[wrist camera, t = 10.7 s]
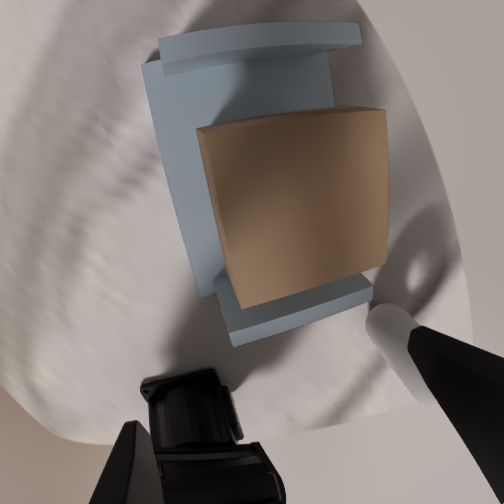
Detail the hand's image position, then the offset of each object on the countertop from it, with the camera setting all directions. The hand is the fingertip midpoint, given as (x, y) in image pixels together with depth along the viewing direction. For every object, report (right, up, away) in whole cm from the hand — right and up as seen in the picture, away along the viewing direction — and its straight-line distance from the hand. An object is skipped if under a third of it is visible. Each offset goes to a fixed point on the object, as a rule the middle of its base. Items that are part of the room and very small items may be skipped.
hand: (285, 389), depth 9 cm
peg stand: (-1, +9, +9) cm, 13 cm away
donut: (+10, -2, +18) cm, 21 cm away
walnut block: (+1, +7, +5) cm, 8 cm away
